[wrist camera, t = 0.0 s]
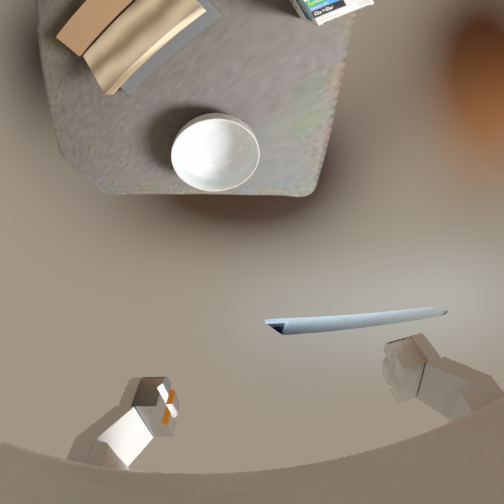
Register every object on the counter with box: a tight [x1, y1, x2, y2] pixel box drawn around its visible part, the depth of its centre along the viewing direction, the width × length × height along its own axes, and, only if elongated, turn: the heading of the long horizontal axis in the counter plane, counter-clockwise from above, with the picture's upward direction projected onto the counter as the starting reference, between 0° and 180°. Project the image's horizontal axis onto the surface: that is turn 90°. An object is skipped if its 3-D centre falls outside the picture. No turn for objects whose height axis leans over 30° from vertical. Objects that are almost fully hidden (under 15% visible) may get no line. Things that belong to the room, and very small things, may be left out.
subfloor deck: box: [56, 0, 223, 95], centre depth 38 cm, size 19×22×5 cm
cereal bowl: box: [171, 113, 260, 191], centre depth 59 cm, size 17×17×7 cm
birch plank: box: [83, 0, 206, 95], centre depth 36 cm, size 10×20×2 cm
